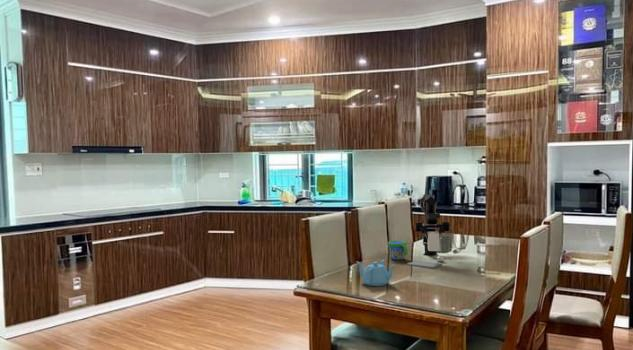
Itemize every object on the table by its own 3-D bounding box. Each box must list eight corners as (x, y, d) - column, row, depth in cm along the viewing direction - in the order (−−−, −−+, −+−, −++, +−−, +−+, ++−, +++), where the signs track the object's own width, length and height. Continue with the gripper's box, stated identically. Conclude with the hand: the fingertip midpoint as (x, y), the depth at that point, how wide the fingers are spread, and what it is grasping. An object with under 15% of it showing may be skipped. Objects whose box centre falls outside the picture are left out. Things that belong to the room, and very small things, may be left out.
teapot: (365, 289, 209) (365, 266, 209) (356, 281, 224) (355, 260, 224) (396, 286, 212) (395, 264, 212) (384, 278, 227) (383, 257, 227)
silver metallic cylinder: (435, 262, 260) (435, 256, 260) (438, 261, 262) (438, 255, 262) (441, 262, 257) (441, 257, 257) (444, 261, 260) (444, 256, 260)
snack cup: (412, 260, 266) (412, 243, 266) (397, 262, 262) (396, 244, 262) (398, 256, 281) (397, 239, 280) (383, 258, 277) (382, 241, 276)
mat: (406, 264, 255) (406, 263, 255) (416, 261, 262) (416, 260, 262) (432, 268, 244) (432, 267, 244) (442, 265, 251) (441, 263, 251)
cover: (427, 249, 259) (427, 231, 259) (438, 249, 258) (438, 231, 258) (428, 251, 253) (428, 233, 253) (439, 250, 252) (439, 232, 252)
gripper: (414, 208, 261) (416, 230, 250) (448, 207, 258) (451, 229, 247) (414, 220, 269) (416, 242, 258) (447, 219, 266) (450, 241, 255)
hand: (433, 238), depth 254 cm, fingers closed on cover, 6 cm apart
